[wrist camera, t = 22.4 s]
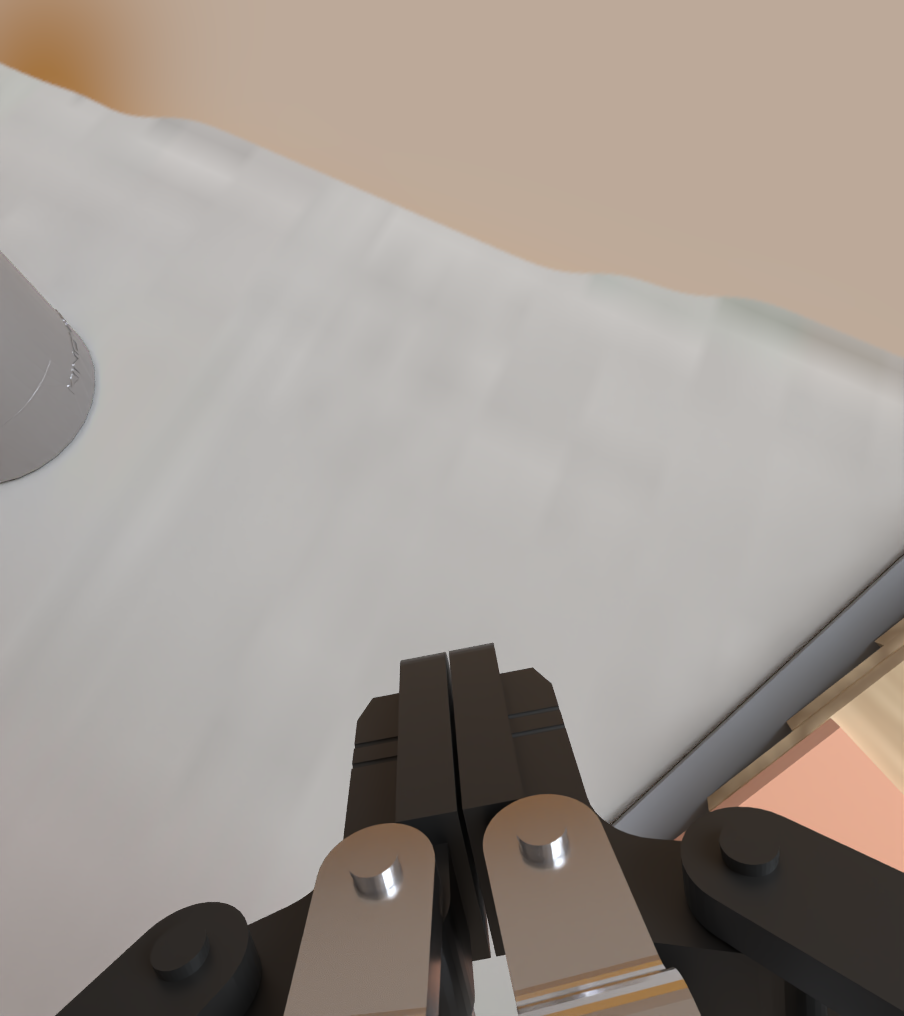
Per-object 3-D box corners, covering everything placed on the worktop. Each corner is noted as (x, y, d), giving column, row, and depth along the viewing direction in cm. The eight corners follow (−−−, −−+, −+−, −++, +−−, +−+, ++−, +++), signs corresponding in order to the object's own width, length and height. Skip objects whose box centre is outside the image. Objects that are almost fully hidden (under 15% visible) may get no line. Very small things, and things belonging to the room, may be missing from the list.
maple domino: (808, 927, 27) (1048, 756, 25) (708, 810, 28) (931, 639, 26) (801, 907, 28) (1027, 744, 27) (707, 797, 30) (917, 634, 28)
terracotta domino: (716, 1024, 26) (957, 852, 24) (617, 899, 27) (840, 727, 25) (713, 998, 27) (940, 834, 26) (620, 881, 29) (830, 717, 27)
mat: (664, 1103, 27) (668, 1110, 26) (519, 910, 29) (520, 913, 28) (1065, 688, 31) (1074, 687, 31) (915, 544, 33) (922, 541, 33)
